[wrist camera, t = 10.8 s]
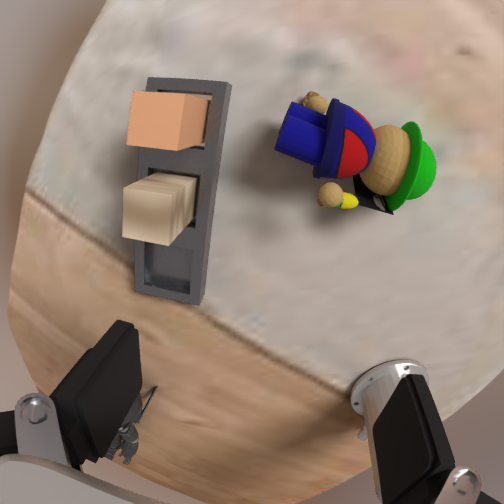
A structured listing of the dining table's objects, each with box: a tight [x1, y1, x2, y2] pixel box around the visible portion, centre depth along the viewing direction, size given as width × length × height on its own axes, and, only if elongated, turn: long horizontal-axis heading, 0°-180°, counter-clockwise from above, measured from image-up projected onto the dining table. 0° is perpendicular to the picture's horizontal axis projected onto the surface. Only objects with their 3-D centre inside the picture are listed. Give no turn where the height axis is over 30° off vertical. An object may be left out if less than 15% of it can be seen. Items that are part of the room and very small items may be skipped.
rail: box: [135, 77, 232, 306], centre depth 32 cm, size 24×8×3 cm, turn 171°
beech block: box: [122, 171, 198, 246], centre depth 29 cm, size 4×4×8 cm
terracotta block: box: [126, 91, 210, 151], centre depth 26 cm, size 4×4×8 cm
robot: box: [104, 386, 157, 465], centre depth 49 cm, size 17×10×30 cm
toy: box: [274, 92, 436, 215], centre depth 26 cm, size 12×9×15 cm
